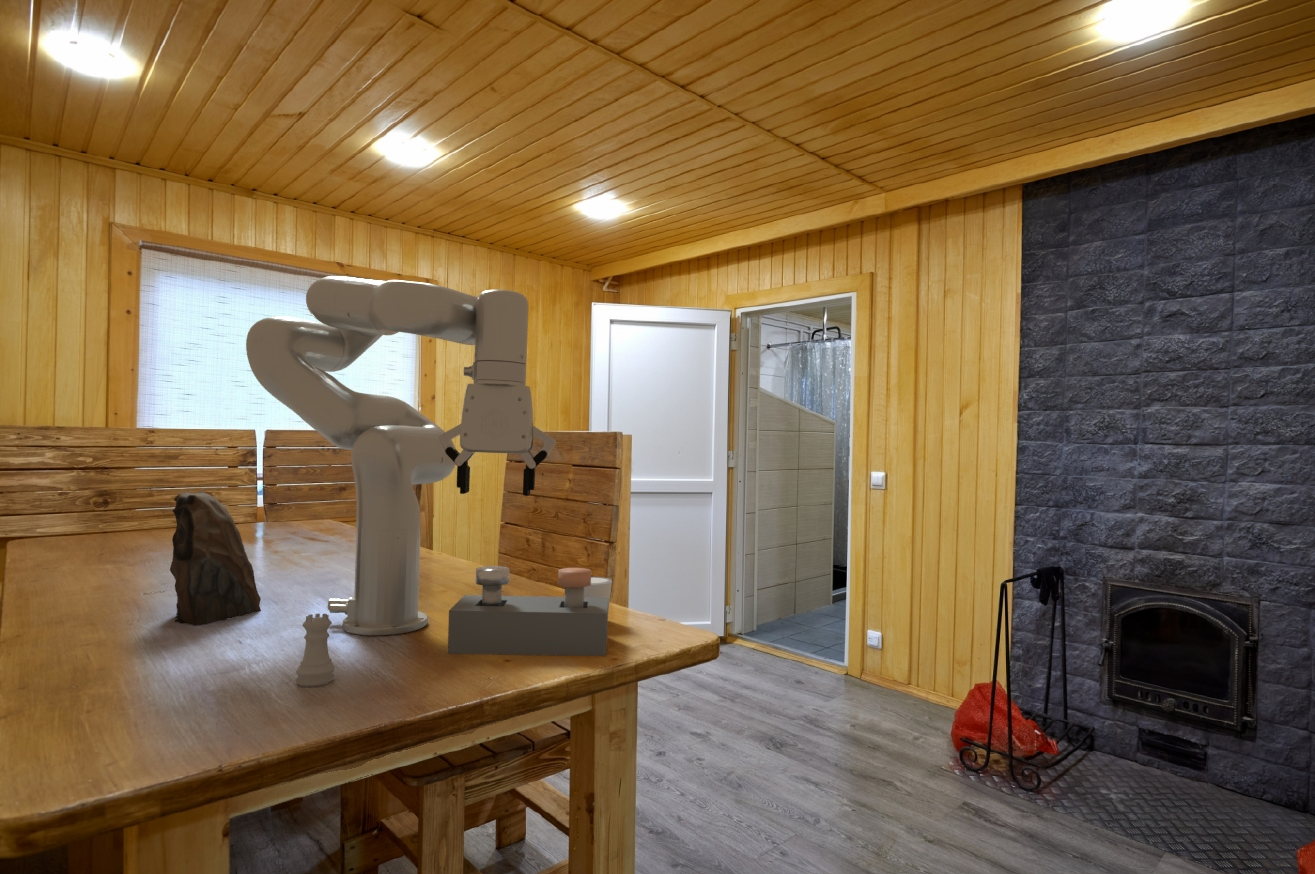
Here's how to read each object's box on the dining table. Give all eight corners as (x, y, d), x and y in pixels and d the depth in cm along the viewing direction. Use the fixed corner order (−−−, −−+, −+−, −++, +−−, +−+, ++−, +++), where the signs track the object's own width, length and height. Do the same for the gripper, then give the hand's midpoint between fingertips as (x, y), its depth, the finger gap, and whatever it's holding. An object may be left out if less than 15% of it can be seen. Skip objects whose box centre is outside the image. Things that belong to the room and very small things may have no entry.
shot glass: (614, 617, 123) (615, 576, 123) (607, 627, 116) (608, 584, 116) (574, 615, 123) (575, 574, 123) (565, 625, 116) (566, 582, 116)
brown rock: (193, 628, 108) (197, 496, 108) (135, 619, 113) (139, 492, 113) (264, 610, 120) (268, 491, 120) (210, 602, 125) (214, 488, 125)
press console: (447, 653, 100) (448, 610, 100) (463, 634, 110) (464, 594, 110) (605, 655, 101) (607, 613, 101) (607, 636, 111) (608, 597, 111)
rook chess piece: (308, 690, 84) (311, 622, 84) (287, 682, 86) (289, 616, 86) (343, 680, 88) (345, 615, 88) (321, 673, 90) (323, 609, 90)
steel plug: (471, 623, 102) (472, 571, 102) (477, 615, 107) (479, 565, 107) (505, 624, 103) (506, 572, 103) (510, 616, 107) (511, 566, 107)
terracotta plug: (555, 625, 103) (557, 573, 103) (558, 617, 108) (559, 567, 108) (588, 625, 103) (590, 573, 103) (590, 617, 108) (591, 568, 108)
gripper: (433, 371, 101) (428, 494, 101) (557, 376, 102) (552, 498, 102) (446, 375, 108) (441, 490, 108) (561, 380, 109) (557, 494, 109)
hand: (495, 493), depth 105 cm, fingers open, 8 cm apart
